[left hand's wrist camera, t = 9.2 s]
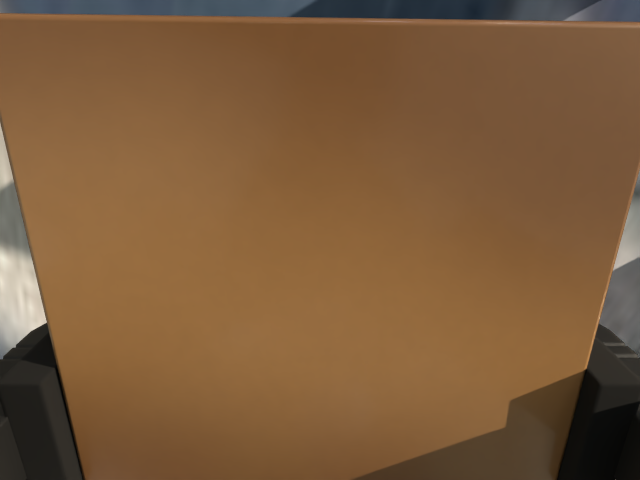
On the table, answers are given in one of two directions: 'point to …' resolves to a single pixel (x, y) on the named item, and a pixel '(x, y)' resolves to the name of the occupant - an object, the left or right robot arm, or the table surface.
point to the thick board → (321, 236)
